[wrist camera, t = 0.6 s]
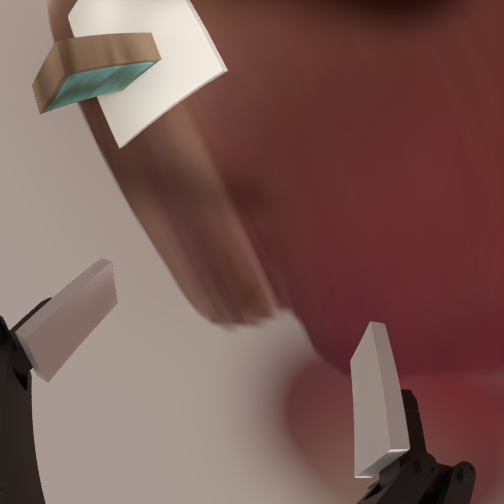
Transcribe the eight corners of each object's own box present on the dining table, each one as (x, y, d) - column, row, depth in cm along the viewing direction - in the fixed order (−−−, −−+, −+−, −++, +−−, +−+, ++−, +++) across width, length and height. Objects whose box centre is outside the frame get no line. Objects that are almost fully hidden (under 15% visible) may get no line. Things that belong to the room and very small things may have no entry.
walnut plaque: (151, 32, 23) (56, 40, 14) (162, 60, 24) (65, 75, 16) (114, 66, 27) (32, 85, 19) (123, 91, 29) (40, 116, 20)
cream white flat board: (71, 15, 25) (67, 16, 25) (144, -72, 13) (140, -73, 13) (123, 146, 35) (119, 148, 35) (227, 70, 23) (223, 70, 22)
